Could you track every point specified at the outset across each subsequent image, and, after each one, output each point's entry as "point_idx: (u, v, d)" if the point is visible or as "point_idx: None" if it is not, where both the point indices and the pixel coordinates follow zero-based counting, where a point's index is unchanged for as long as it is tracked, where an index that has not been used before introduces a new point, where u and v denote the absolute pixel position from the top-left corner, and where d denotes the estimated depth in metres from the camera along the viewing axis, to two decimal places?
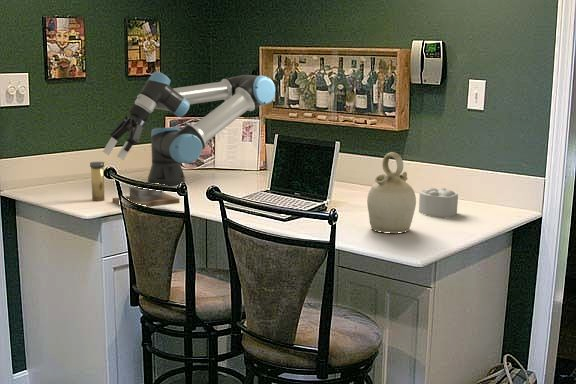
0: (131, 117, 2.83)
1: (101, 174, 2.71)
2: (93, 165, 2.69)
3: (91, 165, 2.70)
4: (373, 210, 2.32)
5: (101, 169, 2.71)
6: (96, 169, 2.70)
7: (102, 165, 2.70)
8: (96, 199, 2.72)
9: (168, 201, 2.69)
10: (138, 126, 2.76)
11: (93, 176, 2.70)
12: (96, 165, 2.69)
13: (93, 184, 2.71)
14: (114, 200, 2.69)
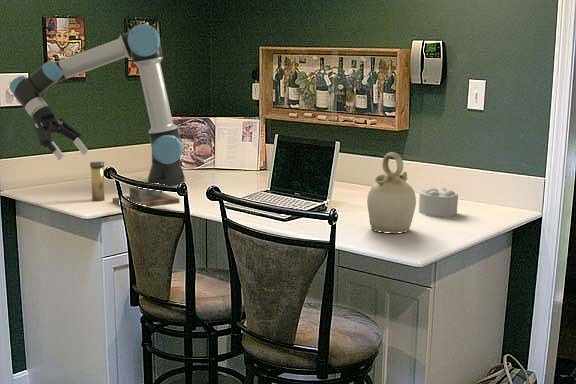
0: None
1: (101, 174, 2.71)
2: (93, 165, 2.69)
3: (91, 165, 2.70)
4: (373, 210, 2.32)
5: (101, 169, 2.71)
6: (96, 169, 2.70)
7: (102, 165, 2.70)
8: (96, 199, 2.72)
9: (168, 201, 2.69)
10: (37, 130, 2.71)
11: (93, 176, 2.70)
12: (96, 165, 2.69)
13: (93, 184, 2.71)
14: (114, 200, 2.69)
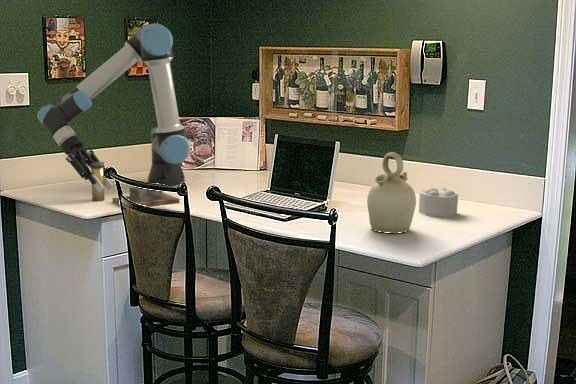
0: None
1: (101, 174, 2.71)
2: (93, 165, 2.69)
3: (91, 165, 2.70)
4: (373, 210, 2.32)
5: (101, 169, 2.71)
6: (96, 169, 2.70)
7: (102, 165, 2.70)
8: (96, 199, 2.72)
9: (168, 201, 2.69)
10: (71, 163, 2.69)
11: None
12: (96, 165, 2.69)
13: None
14: (114, 200, 2.69)
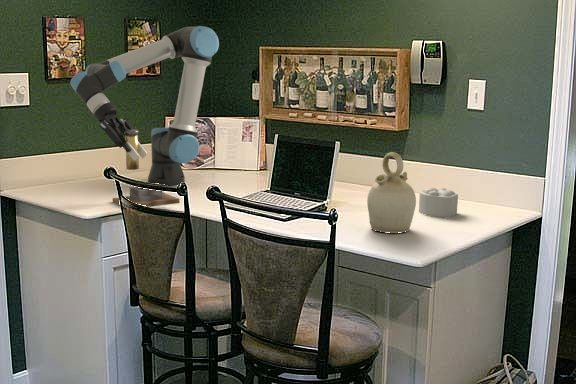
0: None
1: (135, 142, 2.66)
2: (127, 132, 2.64)
3: (125, 132, 2.64)
4: (373, 210, 2.32)
5: (135, 137, 2.65)
6: (130, 137, 2.64)
7: (136, 133, 2.65)
8: (130, 167, 2.67)
9: (168, 201, 2.69)
10: (106, 131, 2.63)
11: None
12: (130, 132, 2.64)
13: (127, 152, 2.66)
14: (114, 200, 2.69)
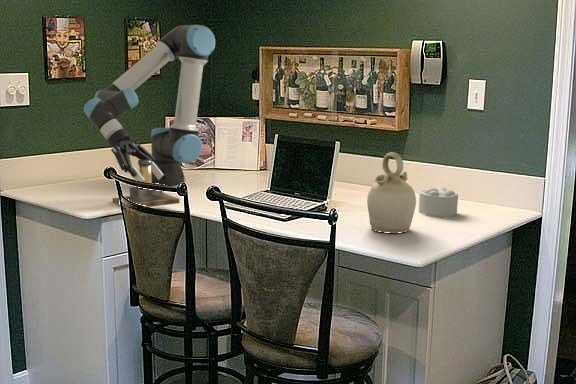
0: None
1: (149, 172, 2.68)
2: (141, 163, 2.66)
3: (139, 163, 2.67)
4: (373, 210, 2.32)
5: (149, 167, 2.68)
6: (144, 167, 2.67)
7: (150, 163, 2.68)
8: None
9: (168, 201, 2.69)
10: (115, 155, 2.64)
11: (141, 174, 2.68)
12: (144, 163, 2.66)
13: None
14: (114, 200, 2.69)
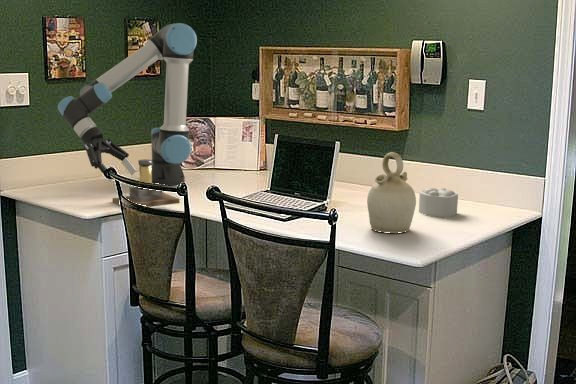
0: None
1: (149, 172, 2.68)
2: (142, 163, 2.66)
3: (140, 163, 2.67)
4: (373, 210, 2.32)
5: (150, 167, 2.68)
6: (145, 167, 2.67)
7: (151, 163, 2.68)
8: None
9: (168, 201, 2.69)
10: (87, 151, 2.69)
11: (141, 174, 2.67)
12: (145, 163, 2.66)
13: None
14: (114, 200, 2.69)
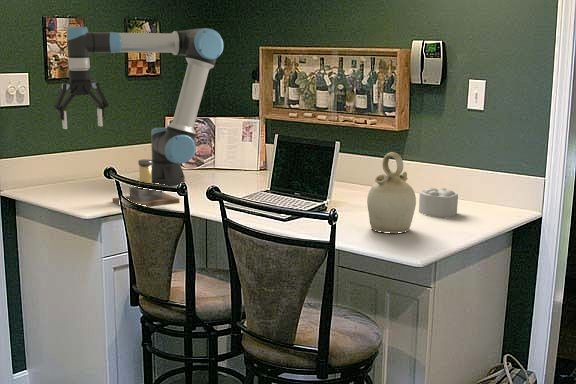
0: None
1: (149, 172, 2.68)
2: (142, 163, 2.66)
3: (140, 163, 2.67)
4: (373, 210, 2.32)
5: (150, 167, 2.68)
6: (145, 167, 2.67)
7: (151, 163, 2.67)
8: None
9: (168, 201, 2.69)
10: (60, 91, 2.70)
11: (141, 174, 2.67)
12: (145, 163, 2.66)
13: None
14: (114, 200, 2.69)
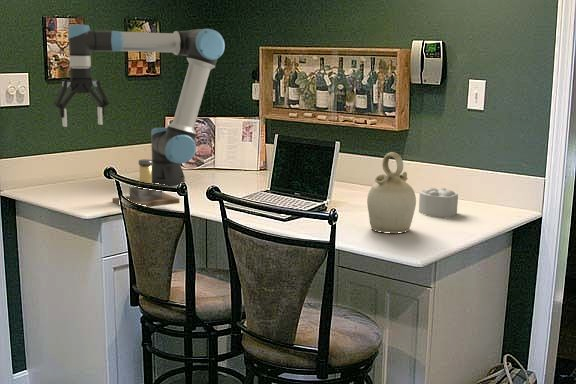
0: None
1: (150, 172, 2.68)
2: (142, 163, 2.66)
3: (140, 163, 2.67)
4: (373, 210, 2.32)
5: (150, 167, 2.68)
6: (145, 167, 2.67)
7: (151, 163, 2.68)
8: None
9: (168, 201, 2.69)
10: (61, 89, 2.70)
11: (142, 174, 2.67)
12: (145, 163, 2.66)
13: (141, 181, 2.68)
14: (114, 200, 2.69)
